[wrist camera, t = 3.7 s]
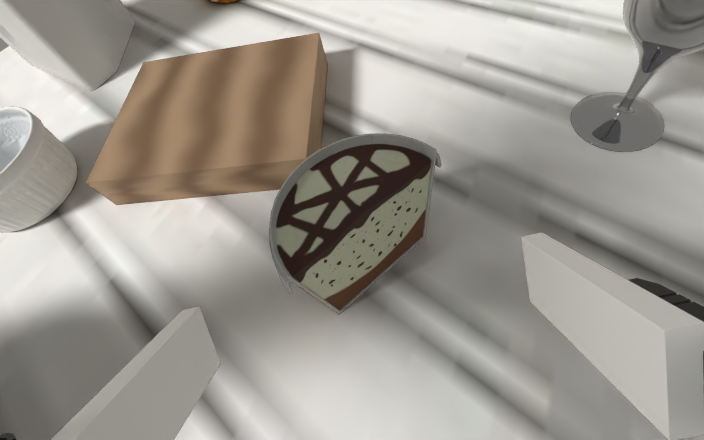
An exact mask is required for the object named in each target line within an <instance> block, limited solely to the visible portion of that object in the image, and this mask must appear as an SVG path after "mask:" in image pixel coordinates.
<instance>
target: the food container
mask: <svg viewBox="0 0 704 440" xmlns="http://www.w3.org/2000/svg"><path fill="white" fill-rule="evenodd" d="M435 165H436V166H438V167H441V166H442V165H441V161H440V156H439V154H438V153H436V149H434V148H433V147H431V146H429V145H427V144H425V143H423V142H420V141H418V140H415V139H413V138H409V137H405V136H401V135H394V134H364V135H357V136H353V137H349V138H345V139H342V140H339V141H337V142H334V143H331V144H329V145H327V146H325V147H323V148H321V149H320V150H318V151H316V152H315V153H313V154H312V155H310V156H309V157H308V158H306V159H305V160H304V161H303V162H302V163H301V164H299V165H298V166H297V167H296V168H295V170H294V171H293V172H292V173H291V174H290V175H289V176H288V178H287V179H286V181H285V182H284V184H283V185H282V187H281V188H280V190H279V192H278V194H277V197H276V199H275V201H274V205H273V208H272V211H271V218H270V228H269V241H270V248H271V253H272V258H273V260H274V263H275V266H276V268H277V271H278V273H279V276H280V278H281V280H282V283H283V284H284V286H285V288H286V289H287V291H288V292H289V294H291V293H292V291H291V288H290V285H289V282H290V281H291V282H293V283H294V284H296V285H297V286H299V287H300V288H302V289H303V290H304V291H306V292H307V293H309V294H310V295H312V296H313V297H315V298H316V299H318V300H319V301H320V302H322V303H323V304H325V305H326V306H328V307H329V308H331V309H332V310H334V311H335V312H337V313H338V314H340V313H341V312H343V311H344V310H345V309H346V308H347V307H348V306H349V305H350V304H351V303H353V302H354V301H355V300H356V299H357V298H358V297H359V296H360V295H362V294H363V293H364V292H365V291H366V290H367V289H368V288H369V287H370V286H372V285H373V284H374V283H375V282H376V281H377V280H378V279H379V278H380V277H382V276H383V275H384V274H385V273H386V272H387V271H388V270H389V269H391V268H392V267H393V266H394V265H395V264H396V263H397V262H398V261H399V260H401V259H402V258H403V257H404V256H405V255H406V254H407V253H408V252H410V251H411V250H412V249H413V248H414V247H415V246H416V245H417V244H418V243H420V242H421V241H422V240H423V239H424V238H425V237H426V230H427V222H428V215H429V207H430V200H431V192H432V185H433V177H434V170H435Z"/></svg>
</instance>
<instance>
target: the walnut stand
mask: <svg viewBox="0 0 704 440" xmlns="http://www.w3.org/2000/svg"><path fill="white" fill-rule="evenodd" d="M327 65H328V64H327V60H326V56H325V53H324V49H323V45H322V42H321V38H320V34H319V33H315V34H309V35H303V36H297V37H291V38H285V39H279V40H273V41H267V42H261V43H255V44H249V45H244V46H238V47H232V48H226V49H220V50H214V51H208V52H202V53H196V54H190V55H184V56H178V57H172V58H166V59H161V60H155V61H149V62H144V63H143V65H142V67H141V69H140V71H139V73H138V75H137V77H136V79H135V81H134V83H133V85H132V87H131V89H130V92H129V94H128V96H127V98H126V100H125V102H124V104H123V106H122V108H121V110H120V112H119V114H118V116H117V118H116V121H115V123H114V125H113V127H112V129H111V131H110V133H109V135H108V137H107V139H106V141H105V143H104V145H103V147H102V149H101V152H100V154H99V156H98V158H97V160H96V162H95V164H94V166H93V168H92V170H91V172H90V174H89V176H88V178H87V181H86V184H88V185H89V186H91V187H92V188H93V189H95V190H96V191H98V192H99V193H100V194H102V195H103V196H105V197H106V198H107V199H109V200H110V201H112V202H113V203H114V204H116V205H121V204H131V203H142V202H152V201H163V200H173V199H184V198H194V197H204V196H215V195H225V194H236V193H246V192H257V191H267V190H277V189H280V188H281V187H282V185H283V184H284V182H285V181H286V179H287V178H288V176H289V175H290V174H291V173H292V172H293V171H294V170H295V168H296V167H297V166H298V165H299V164H301V163H302V162H303V161H304V160H305V159H306V158H308V157H309V156H310V155H312V154H313V153H315V152H316V151H318V150H320V149H321V142H322V129H323V116H324V104H325V91H326V78H327Z"/></svg>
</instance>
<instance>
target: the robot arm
mask: <svg viewBox="0 0 704 440" xmlns="http://www.w3.org/2000/svg"><path fill="white" fill-rule="evenodd" d="M521 240H522V247H523V254H524V262H525V269H526V276H527V283H528V291H529V298H530V302H531V303H532V304H533V305H534V306H535V307H536V308H537V309H538V310H539V311H540V312H541V313H542V314H543V315H544V316H545V317H546V318H547V319H548V320H549V321H550V322H551V323H552V324H553V325H554V326H555V327H556V328H557V329H558V330H559V331H560V332H561V333H562V334H563V335H564V336H565V337H566V338H567V339H568V340H569V341H570V342H571V343H572V344H573V345H574V346H575V347H576V348H577V349H578V350H579V351H580V352H581V353H582V354H583V355H584V356H585V357H586V358H587V359H588V360H589V361H590V362H591V363H592V364H593V365H594V366H595V367H596V368H597V369H598V370H599V371H600V372H601V373H602V374H603V375H604V376H605V377H606V378H607V379H608V380H609V381H610V382H611V383H612V384H613V385H614V386H615V387H616V388H617V389H618V390H619V391H620V392H621V393H622V394H623V395H624V396H625V397H626V398H627V399H628V400H629V401H630V402H631V403H632V404H633V405H634V406H635V407H636V408H637V409H638V410H639V411H640V412H641V413H642V414H643V415H644V416H645V417H646V418H647V419H648V420H649V421H650V422H651V423H652V424H653V425H654V426H655V427H656V428H657V429H658V430H659V431H660V432H661V433H662V434H663V435H664V436H665V437H666V438H667V439H668V440H678V439H684V438H690V437H697V436H703V435H704V307H703V306H701V305H699V304H697V303H695V302H691V301H690V300H689V299H687V298H685V297H683V296H681V295H677V294H676V293H675V292H673V291H671V290H669V289H668V288H666V287H664V286H662V285H660V284H657V283H653V282H649V281H645V280H642V279H638V278H636V279H631V280H627V279H625V278H623V277H621V276H620V275H618V274H616V273H614V272H612V271H610V270H609V269H607V268H605V267H603V266H601V265H600V264H598V263H596V262H594V261H592V260H591V259H589V258H587V257H585V256H583V255H582V254H580V253H578V252H576V251H574V250H572V249H571V248H569V247H567V246H565V245H563V244H562V243H560V242H558V241H556V240H554V239H553V238H551V237H549V236H547V235H545V234H544V233H542V232H541V233H536V234H531V235H527V236H522V237H521ZM220 364H221V363H220V360H219V357H218V354H217V352H216V349H215V346H214V344H213V341H212V338H211V336H210V333H209V330H208V328H207V325H206V322H205V320H204V317H203V314H202V311H201V309H200V306H198V307H194V308H189V309H185V310H182V311H181V312H180V313H179V314H178V315H177V316H176V317H175V318H174V319H173V320H172V321H171V322H170V323H169V324H168V325H166V326H165V327H164V328H163V329H162V330H161V331H160V332H159V333H158V334H157V335H156V336H155V337H154V338H153V339H152V340H151V341H150V342H149V343H148V344H147V345H146V346H145V347H144V348H143V349H142V350H141V351H140V352H139V353H138V354H137V355H136V356H135V357H134V358H133V359H132V360H131V361H130V362H129V363H128V364H127V365H126V366H125V367H124V368H123V369H122V370H121V371H120V372H119V373H118V374H117V375H116V376H115V377H114V378H113V379H112V380H111V381H110V382H109V383H108V384H107V385H106V386H105V387H104V388H102V389H101V390H100V391H99V392H98V393H97V394H96V395H95V396H94V397H93V398H92V399H91V400H90V401H89V402H88V403H87V404H86V405H85V406H84V407H83V408H82V409H81V410H80V411H79V412H78V413H77V414H76V415H75V416H74V417H73V418H72V419H71V420H70V421H69V422H68V423H67V424H66V425H65V426H64V427H63V428H62V429H61V430H60V431H59V432H58V433H56V434H55V435H54V436H53V437H52V438H51V439H50V440H174V439H175V437H176V436H177V434H178V432H179V431H180V429H181V428H182V426H183V424H184V423H185V421H186V419H187V418H188V416H189V415H190V413H191V411H192V410H193V408H194V406H195V405H196V403H197V401H198V400H199V398H200V397H201V395H202V393H203V392H204V390H205V388H206V387H207V385H208V384H209V382H210V380H211V379H212V377H213V375H214V374H215V372H216V370H217V369H218V367H219V366H220ZM0 440H17V439H16V438H15V436H14V434H9V433H7V434H3V435H0Z"/></svg>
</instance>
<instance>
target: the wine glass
mask: <svg viewBox="0 0 704 440" xmlns="http://www.w3.org/2000/svg"><path fill="white" fill-rule="evenodd" d="M623 19H624V22H625V26H626V28H627V30H628V32H629V34H630V36H631V38H632V40H633V42H634V44H635V46H636V48H637V50H638V54H639V65H638V68H637V71H636V74H635V76H634V79H633V81H632V83H631V85H630V88H629V90H628V91H627V93H626V94H625V93H618V92H605V93H598V94H594V95H591V96H588V97H586V98H584V99H582V100H581V101H580V102H578V103H577V104H576V105H575V107H574V108H573V110H572V113H571V123H572V126H573V128H574V130H575V131H576V132H577V134H578V135H579V136H580V137H582V138H583V139H584V140H585V141H587V142H589V143H590V144H592V145H595V146H597V147H599V148H603V149H606V150H611V151H619V152H630V151H637V150H641V149H644V148H647V147H649V146H651V145H653V144H654V143H656V142H657V141H658V140H659V139H660V137H661V136H662V134H663V132H664V121H663V118H662V116H661V114H660V113H659V111H658V110H657V109H656V108H655V107H654V106H653V105H651V104H650V103H648V102H647V101H645V100H643V99H641V98H639V97H637V95H638V94H639V93H640V91H641V90H642V89H643V87H644V86H645V85H646V84H647V82H648V81H649V80H650V79H651V78H652V77H653V75H654V74H655V73H656V72H657V71H658V70H659V69H660V68H662V67H663V66H665V65H666V64H668V63H669V62H671V61H673V60H675V59H677V58H680V57H683V56H686V55H689V54H692V53H694V52H697V51H700V50H703V49H704V0H624V3H623Z"/></svg>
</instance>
